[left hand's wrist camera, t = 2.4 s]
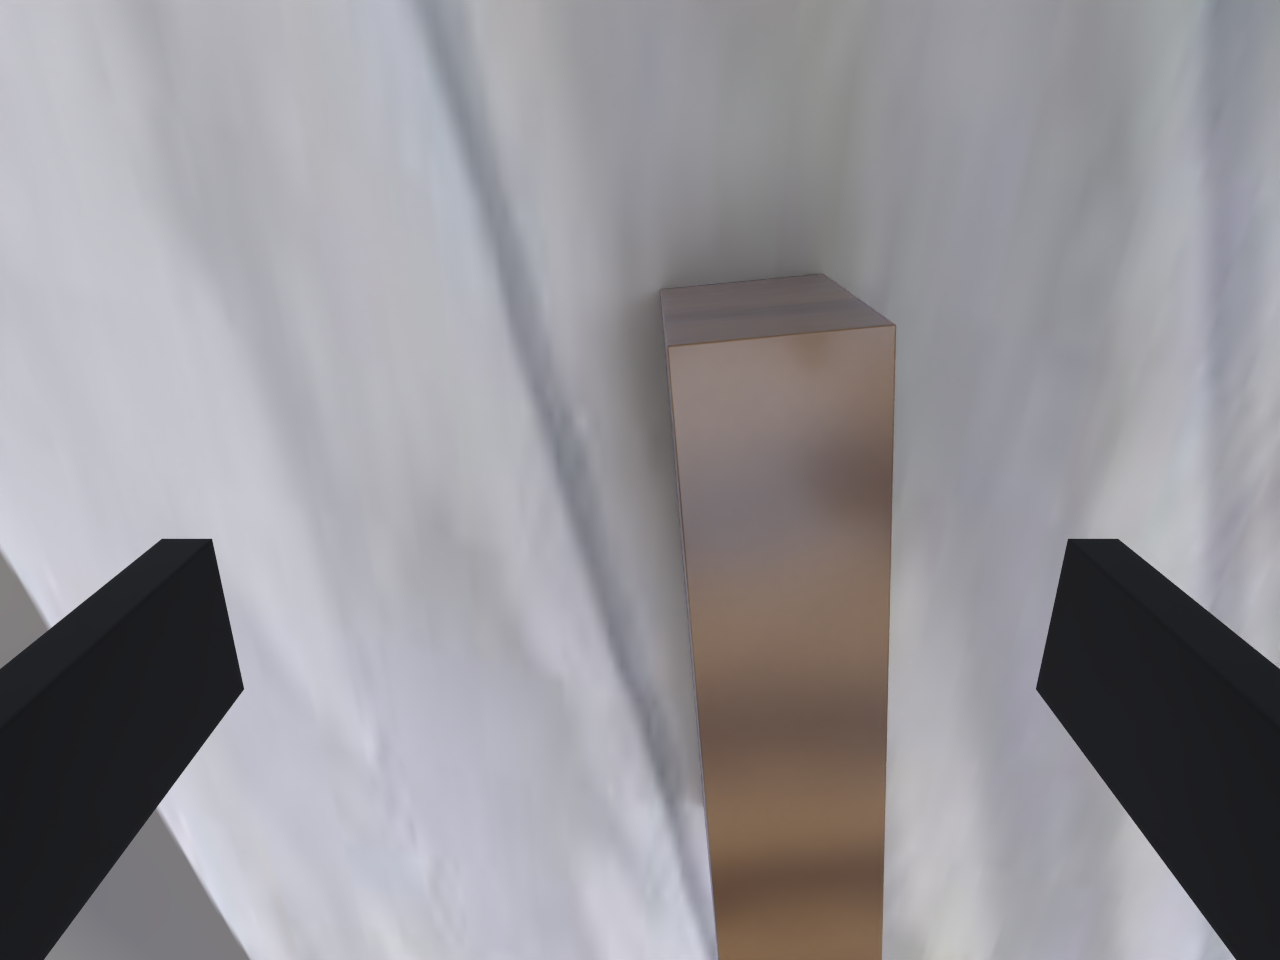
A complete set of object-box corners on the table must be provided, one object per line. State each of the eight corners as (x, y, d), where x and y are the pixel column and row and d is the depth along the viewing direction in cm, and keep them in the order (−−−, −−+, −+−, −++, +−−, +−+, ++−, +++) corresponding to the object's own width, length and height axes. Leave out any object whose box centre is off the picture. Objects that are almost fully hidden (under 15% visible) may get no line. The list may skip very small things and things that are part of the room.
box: (659, 289, 30) (666, 346, 21) (824, 273, 30) (896, 324, 21) (703, 808, 39) (720, 991, 31) (829, 799, 39) (881, 981, 30)
